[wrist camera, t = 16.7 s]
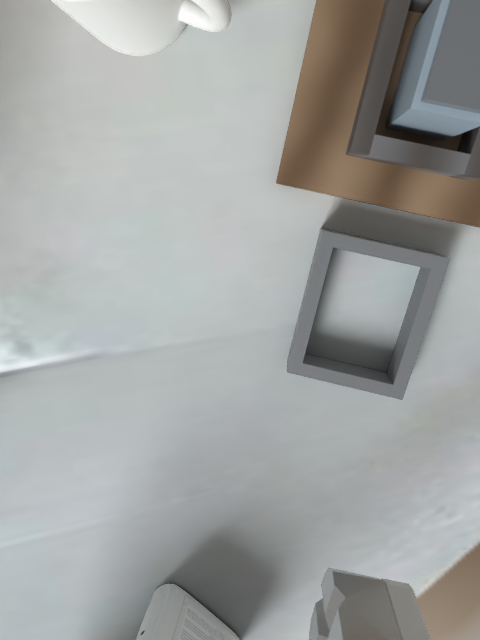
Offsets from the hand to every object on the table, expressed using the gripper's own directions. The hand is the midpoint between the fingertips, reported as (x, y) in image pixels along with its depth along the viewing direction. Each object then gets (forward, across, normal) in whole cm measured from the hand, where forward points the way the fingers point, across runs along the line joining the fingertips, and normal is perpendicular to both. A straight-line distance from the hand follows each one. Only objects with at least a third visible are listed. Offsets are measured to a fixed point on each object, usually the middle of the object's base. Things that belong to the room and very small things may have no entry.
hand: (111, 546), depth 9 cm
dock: (+28, +10, +16) cm, 34 cm away
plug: (+27, +10, +16) cm, 33 cm away
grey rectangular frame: (+29, +10, 0) cm, 30 cm away
